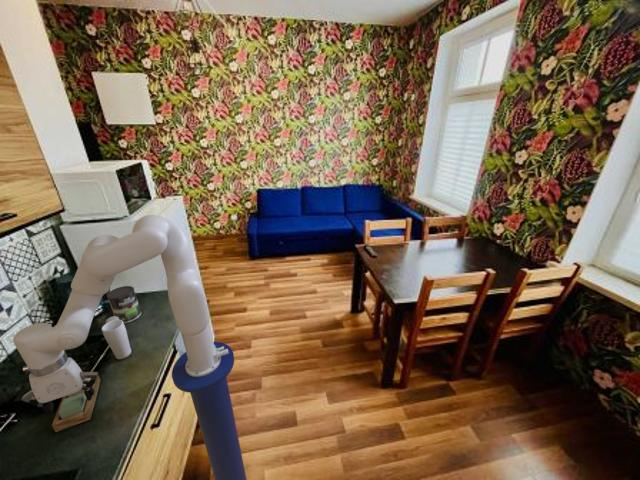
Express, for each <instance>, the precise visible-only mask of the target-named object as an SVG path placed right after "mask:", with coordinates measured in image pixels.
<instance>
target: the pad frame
mask: <svg viewBox="0 0 640 480" xmlns="http://www.w3.org/2000/svg"><path fill="white" fill-rule="evenodd" d="M100 385H101V378H100V375H99V374H98V375H97V378H96V381H95V383H94V384H93V386H92V387H93V389H94V395H93V396H92V399H91V400H90V401H88V400H87V402H86V406H85V409H84V412H81V413H78V414H76V415H73V416H70V417H67V418H65V419H62V418H61V416H60V415H59V411H60V408H61V405H62V403H63V400H64V399H66V398H68V396H64V397H61V401H60V404H59V405H58V408H57V411H56V414H55V416H54V418H53V421H52V424H51V427H52V429H53V430H54V432H55V433H58V432H60V431H63V430H66V429H68V428H71V427H74V426H76V425H79V424H81V423H85V422H87V421H90V420H91V418H92V414H93V410H94V408H95V404H96V399H97V395H98V392H99V390H100V389H99V388H100Z"/></svg>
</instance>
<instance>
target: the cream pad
mask: <svg viewBox="0 0 640 480" xmlns="http://www.w3.org/2000/svg"><path fill="white" fill-rule="evenodd" d="M85 380H89V381H90V380H91V378H85ZM83 385H85V384H83ZM85 386H86V385H85ZM84 391H85V390H79V391H78V392H75V393H73V394H70V395H67V396H68V398H69V397H72V396H75V395H78V394H81V393H84Z"/></svg>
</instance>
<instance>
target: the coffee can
mask: <svg viewBox="0 0 640 480" xmlns="http://www.w3.org/2000/svg"><path fill="white" fill-rule="evenodd" d="M106 298H107V300H108V302H109V305H110V308H111V311H112V313H113V316H117V317H118V318H119V320H122V321H123V323H124V324H127V323H128V324H129V323H131V322H134V321H135V320H137V319H139V317H141V316H142V311H141V307H140V305H139V300H138V298H137V294H136V291H135V288H134V287H133V286H131V285H123V286H119V287H116V288H114V289H112V290H109V291H108V292H107V293H106Z"/></svg>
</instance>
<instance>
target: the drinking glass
mask: <svg viewBox="0 0 640 480" xmlns="http://www.w3.org/2000/svg"><path fill="white" fill-rule="evenodd" d="M101 332H102V334H103V337H104V339H105V341H106V343H107V345H108V346H109V348H110V350H111V352H112V353H113V356H114V357H115V359H117V360H123V359H126V358H128V357H129V356H130V355H131V354H132V348H131V344H130V340H129V336H128V331H127V329H126V325H125V323H123V321H122V320H113V321H110V322H108V323H106V322H105V324H104V325H103V326H102V327H101Z"/></svg>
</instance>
